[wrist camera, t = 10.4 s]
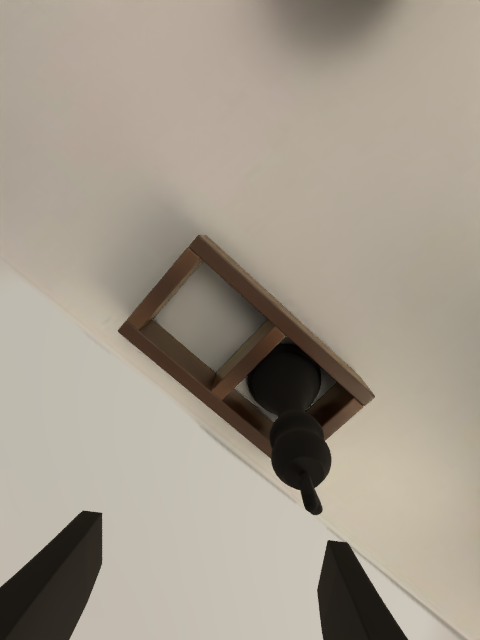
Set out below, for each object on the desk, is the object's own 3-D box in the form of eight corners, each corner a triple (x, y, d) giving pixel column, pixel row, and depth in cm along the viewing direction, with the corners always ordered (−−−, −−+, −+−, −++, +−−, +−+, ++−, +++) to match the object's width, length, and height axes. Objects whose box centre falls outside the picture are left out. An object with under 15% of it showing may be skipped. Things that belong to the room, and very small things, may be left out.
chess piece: (306, 332, 19) (359, 429, 10) (330, 396, 20) (400, 545, 10) (236, 358, 20) (220, 473, 10) (262, 419, 21) (270, 579, 11)
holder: (284, 446, 21) (288, 473, 19) (134, 319, 19) (117, 331, 17) (361, 377, 20) (375, 397, 17) (206, 234, 18) (198, 234, 16)
